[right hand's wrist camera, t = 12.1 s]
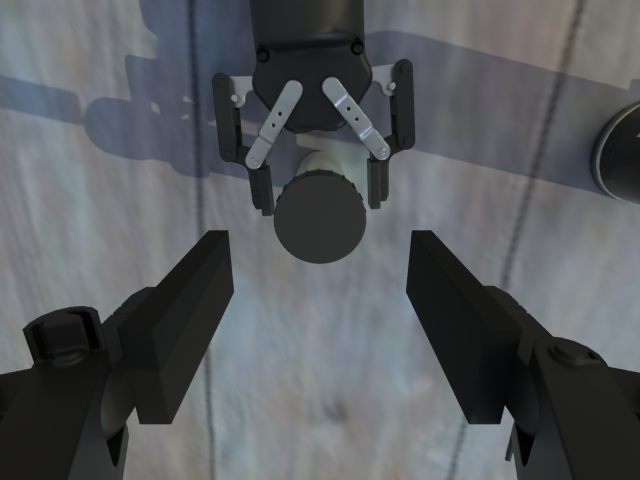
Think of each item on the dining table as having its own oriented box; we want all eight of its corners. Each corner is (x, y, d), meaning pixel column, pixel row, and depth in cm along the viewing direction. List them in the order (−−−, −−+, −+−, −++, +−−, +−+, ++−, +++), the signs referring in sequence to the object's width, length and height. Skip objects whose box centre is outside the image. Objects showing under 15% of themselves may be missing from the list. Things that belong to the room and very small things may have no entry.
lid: (325, 267, 22) (326, 281, 20) (259, 217, 21) (253, 227, 19) (381, 206, 21) (387, 215, 19) (313, 149, 20) (312, 152, 18)
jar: (322, 204, 35) (324, 268, 21) (288, 176, 34) (266, 224, 20) (351, 170, 34) (374, 214, 19) (316, 141, 33) (314, 164, 18)
